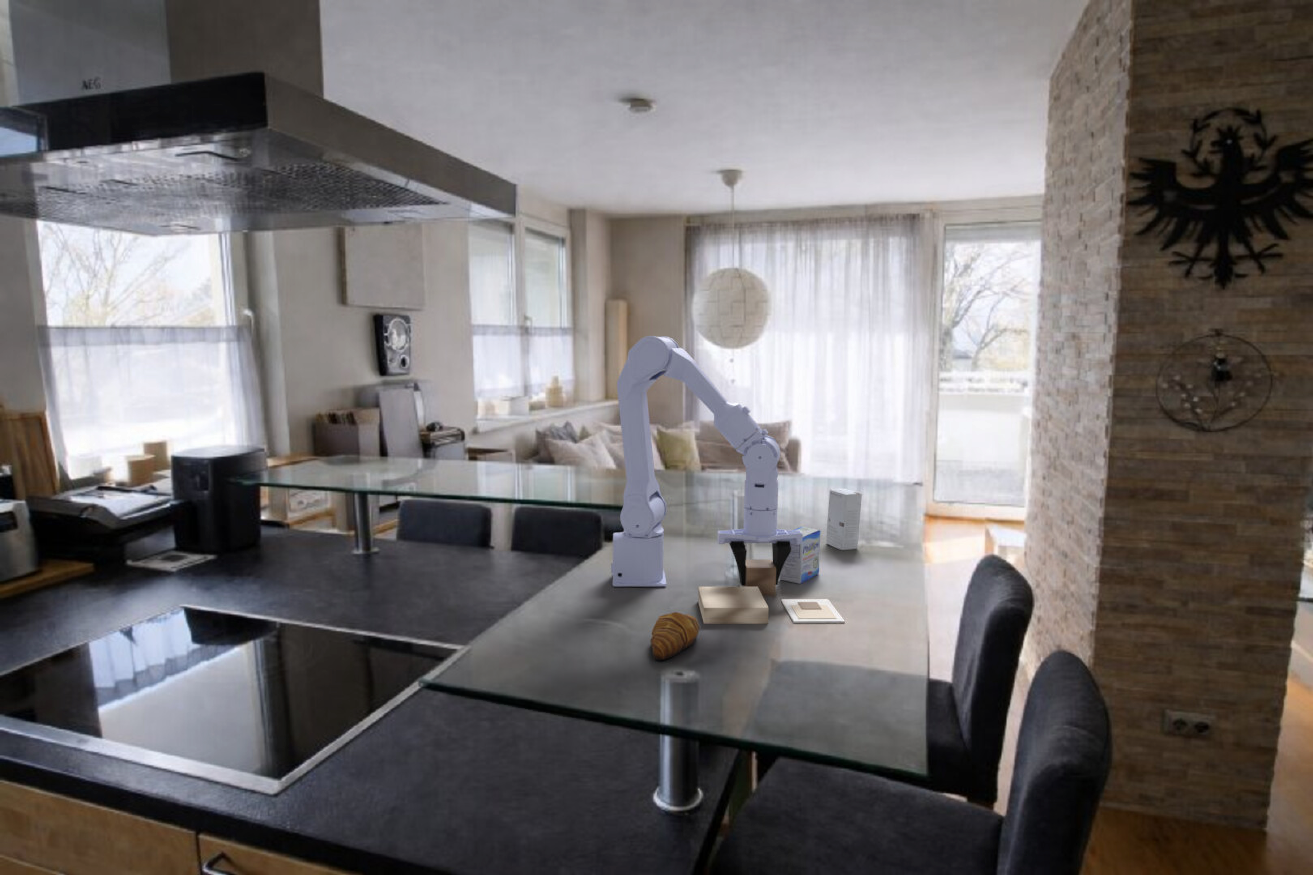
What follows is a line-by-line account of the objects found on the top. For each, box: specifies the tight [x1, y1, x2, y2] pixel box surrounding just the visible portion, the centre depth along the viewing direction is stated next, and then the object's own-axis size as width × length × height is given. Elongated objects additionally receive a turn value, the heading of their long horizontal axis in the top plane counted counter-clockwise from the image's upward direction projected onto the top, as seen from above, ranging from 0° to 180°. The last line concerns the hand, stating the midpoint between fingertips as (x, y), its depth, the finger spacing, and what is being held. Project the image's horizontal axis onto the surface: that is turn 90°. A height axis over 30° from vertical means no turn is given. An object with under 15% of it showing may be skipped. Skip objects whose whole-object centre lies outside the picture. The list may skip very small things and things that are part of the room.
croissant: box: [650, 611, 700, 661], centre depth 108 cm, size 14×7×5 cm, turn 157°
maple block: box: [697, 586, 769, 625], centre depth 122 cm, size 10×10×3 cm
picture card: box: [780, 598, 846, 624], centre depth 122 cm, size 8×10×1 cm
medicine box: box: [779, 526, 821, 585], centre depth 139 cm, size 8×4×9 cm, turn 143°
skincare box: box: [825, 487, 863, 551], centre depth 161 cm, size 6×4×12 cm
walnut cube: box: [741, 558, 777, 597], centre depth 131 cm, size 5×5×5 cm
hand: (758, 583), depth 132 cm, fingers closed on walnut cube, 5 cm apart
